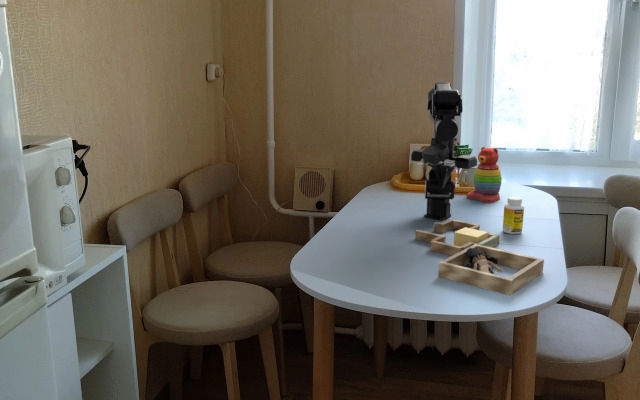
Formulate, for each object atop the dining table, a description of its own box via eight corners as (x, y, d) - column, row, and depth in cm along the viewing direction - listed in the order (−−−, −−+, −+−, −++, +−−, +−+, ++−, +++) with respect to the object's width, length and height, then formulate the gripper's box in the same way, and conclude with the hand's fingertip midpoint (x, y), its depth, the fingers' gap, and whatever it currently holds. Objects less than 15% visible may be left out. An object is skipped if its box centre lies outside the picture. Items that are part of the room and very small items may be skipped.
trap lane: (404, 244, 187) (404, 235, 186) (445, 225, 203) (445, 217, 203) (469, 259, 174) (470, 250, 174) (507, 239, 191) (508, 230, 190)
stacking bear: (464, 197, 237) (466, 147, 232) (483, 193, 243) (486, 144, 238) (488, 203, 228) (491, 151, 224) (507, 199, 234) (511, 148, 230)
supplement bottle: (513, 235, 194) (515, 201, 191) (498, 231, 198) (500, 197, 196) (526, 232, 197) (529, 198, 194) (511, 228, 201) (513, 194, 199)
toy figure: (509, 286, 158) (489, 261, 172) (508, 262, 156) (488, 238, 170) (479, 291, 157) (461, 265, 172) (478, 266, 156) (460, 242, 170)
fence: (438, 276, 163) (438, 262, 162) (474, 256, 177) (475, 243, 176) (510, 295, 151) (511, 280, 151) (542, 272, 165) (544, 259, 164)
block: (453, 246, 186) (454, 232, 185) (464, 240, 190) (465, 227, 189) (476, 251, 181) (477, 237, 180) (487, 246, 186) (488, 232, 185)
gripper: (401, 134, 192) (399, 187, 196) (459, 142, 180) (456, 198, 184) (422, 129, 200) (420, 180, 204) (479, 136, 188) (476, 190, 192)
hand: (441, 187), depth 196 cm, fingers closed
